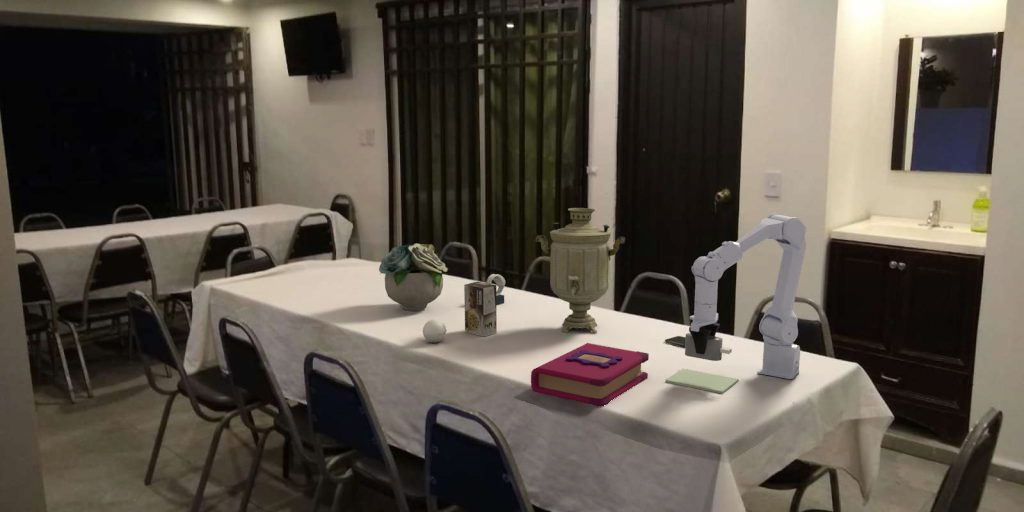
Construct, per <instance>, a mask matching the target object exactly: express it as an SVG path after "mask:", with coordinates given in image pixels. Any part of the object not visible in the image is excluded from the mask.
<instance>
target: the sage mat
mask: <svg viewBox="0 0 1024 512" xmlns="http://www.w3.org/2000/svg"><path fill="white" fill-rule="evenodd" d="M664 380H665V381H664V382H665V383H668V384H673V385H677V386H678V385H679V386H683V387H687V388H688V387H689V388H693V389H698V390H702V391H703V390H704V391H708V392H713V393H719V394H721V395H722V394H724V393H726V392H727V391H728V390H730V388H732V387H733V386H735V385H736V384H737V383H738V382H739V381H740V379H739V378H736V377H731V376H726V375H725V376H724V375H720V374H716V373H715V374H713V373H709V372H705V371H704V372H703V371H698V370H695V369H694V370H693V369H688V368H681V369H680V370H678V371H677V372H675V373H674V374H672V375H670V376H669V377H667V378H666V379H664Z"/></svg>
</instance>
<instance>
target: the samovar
mask: <svg viewBox="0 0 1024 512" xmlns="http://www.w3.org/2000/svg"><path fill="white" fill-rule="evenodd" d="M567 210H568V211H569V213H570V215H569V217H570V220H571V221H572V222H571V223H569V224H567V225H565V227H562V228H559V224H560V223H559V222H554V223H552V226H554V230H551V231H549V233H550V238H551V240H552V242H551V245H550V247H549V242H548V239H547V237H546V236H545V235H541V234H540V235H538V234H537V235H536V236H535V238H534V241H535V242H536V243H537V242H540V248H541V250H542V251H543V253H544V254H547V255H549V258H550V259H549V260H550V263H549V264H550V268H549V269H550V270H549V273H550V274H549V275H550V277H549V278H550V281H549V283H550V289H551V291H552V292H553V294H554V295H556V296H557V297H558V298H559V299H561V300H562V301H564V302H565V303H569V304H568V307H569V310H571V311H572V313H571V314H570V313H569V314H568V315H567V317H565V318H564V320H563V322H562V325H564V328H563V329H562V330H561V333H563V334H565V333H568V331H570V330H571V329H573V328H575V329H579V328H580V329H585V328H586V329H588V330H589V331H590V332H591V334H594V335H595V334H597V333H598V331H597V329H595V326H598V324H597V322H596V319H595V318H594V317H593V316H592V315H591V314H589V313H588V311H590V310H591V303H594V302H597V301H598V300H599V299H601V298H602V297H603V296H604V295H605V296H606V293H607V292H608V290H609V287H610V265H611V263H610V262H611V257H612V256H615V254H616V253H617V252H618V251H619V249H620V245H623V244H625V243H626V237H625V236H618V237H617V238H616V240H615V241H614V244H613V245H612V248H611V246H610V244H609V241H610V238H611V234H612V232H611V231H609V228H610V225H608V224H603V225H602V226H603V229H601V228H598V227H597V226H596V225H594V224H592V223H590V221H591V220H592V214H593V213H594V212H595V211H596V209H593V208H588V207H587V208H586V207H585V208H584V207H572V208H571V207H570V208H568V209H567Z"/></svg>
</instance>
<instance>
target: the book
mask: <svg viewBox="0 0 1024 512" xmlns="http://www.w3.org/2000/svg"><path fill="white" fill-rule="evenodd" d="M649 356H650V355H649V353H648V352H644V351H635V350H630V349H623V348H618V347H611V346H607V345H606V346H605V345H601V344H597V343H590V342H586V343H584V344H582V345H580V346H579V347H576V348H574V349H572V350H571V351H568V352H567V353H564V354H562V355H560V356H558V357H556V358H554V359H551V360H550V361H547V362H545V363H544V364H542V365H539V366H537V367H535V368H533V369H532V370H531V374H530V386H531V387H530V388H531V389H532V391H533V392H535V393H537V394H542V395H546V396H547V395H548V396H551V397H556V398H560V399H564V400H565V399H566V400H569V401H574V402H578V403H583V404H587V405H591V406H593V407H594V406H595V407H599V406H600V407H601V406H603V407H605V406H604V405H606V404H607V405H609V404H610V403H611V402H612V401H614V400H615V399H617V398H618V397H617V396H619V395H620V396H622V395H623V394H625V393H627V392H628V391H630V390H631V389H633V388H634V387H637V385H639V384H641V383H643V382H644V381H646V380H647V379H648V378H649V376H648V375H649V373H648V372H646V371H642V364H644V363H645V362H648V361H649V358H650V357H649ZM633 386H634V387H633ZM632 387H633V388H632ZM630 388H631V389H630ZM629 389H630V390H629ZM627 390H628V391H627ZM624 392H625V393H624ZM622 393H623V394H622ZM621 394H622V395H621ZM620 396H619V397H620ZM616 397H617V398H616ZM614 398H615V399H614ZM613 399H614V400H613ZM611 400H612V401H611ZM610 401H611V402H610ZM609 402H610V403H609ZM608 403H609V404H608ZM607 405H606V406H607ZM600 407H599V408H600ZM601 408H602V407H601Z"/></svg>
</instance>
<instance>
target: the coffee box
mask: <svg viewBox="0 0 1024 512" xmlns="http://www.w3.org/2000/svg"><path fill="white" fill-rule="evenodd" d="M463 287H464V289H463V291H464V292H463V293H464V296H463V297H464V332H465V333H468V334H472V335H477V336H480V337H487V336H491V335H495V334H497V331H498V330H497V310H498V309H497V305H496V292H497V287H498V286H497V284H492V283H491V284H488V283H486V282H481V281H474V282H470V283H466V284H464V285H463Z"/></svg>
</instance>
